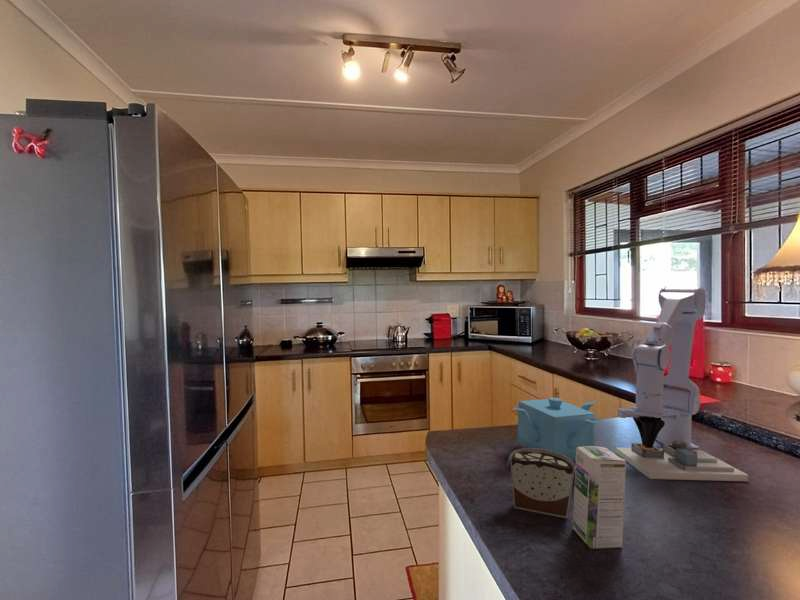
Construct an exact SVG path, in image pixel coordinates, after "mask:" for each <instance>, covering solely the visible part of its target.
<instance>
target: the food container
mask: <svg viewBox="0 0 800 600" xmlns="http://www.w3.org/2000/svg"><path fill="white" fill-rule="evenodd" d="M509 464H510V473H511V488H512V496H513V497H512V499H513V508H514V509H517V510H523V511H528V512H533V513H539V514H544V515H549V516H552V517H553V516H554V517H559V518H564V519H568V517H569V515H568V514H569V509H570V502H571V497H572V496H571V495H572V490H573V482H574V478H575V466H576V463H573V461H572V460H571V459H569V458H568V457H566V456H564V455H562V454H560V453H557V452H554V451H550V450H545V449H539V448H527V447H523V448H522V447H521V448H517V449H516V450H515V449H514V450H513V451H512V452H510V455H509V457H508V459H507V466H509Z"/></svg>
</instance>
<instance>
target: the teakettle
mask: <svg viewBox="0 0 800 600" xmlns="http://www.w3.org/2000/svg"><path fill="white" fill-rule="evenodd" d="M595 404H596V402H594V401H593V402H592V401H589V402H585V403H583V404H582V405H580V407H579V406H577V405H573V404H572V403H568V402H566V401H563V399H561V398H558V397H549V398H543V399H531V400H519V401H518V407H515V408H512V410H513V411H514V412H516V413H517V440H516V442H518V443H519V444H521V445H522V446H524V447H525V448H539V449H545V450H550V451H554V452H557V453H560V454H562V455H564V456H566V457H568V458H569V459H571V460H572V461H573V463H574V464H576V448H577V447H584V446H595V441H596V439H595V438H596V425H597V424H599V421H596V413H594V412H592V411H589V410H590V409H591V407H593V406H594V405H595Z"/></svg>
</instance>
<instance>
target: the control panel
mask: <svg viewBox="0 0 800 600" xmlns="http://www.w3.org/2000/svg"><path fill="white" fill-rule="evenodd" d="M641 444H642V442H641V443H637V442H635V443H632V442H631V447H615V453H614V454H616V455H617V456H619V457H620V458H621V459H624V460H626V463H627V464H630V465H631V466H632V467H633V468H635V469H636V470H637V471H639V472H640V473H642V475H644V476H645V477H647V478H648V479H650V480H676V481H677V480H679V481H680V480H681V481H683V480H684V481H686V480H687V481H712V482H713V481H719V482H720V481H721V482H723V481H724V482H748V481H749V474H747V473H746V472H743V471H742V470H740V469H738V468H736V467H734V466H732V465H730V464H729V463H727V462H725V461H722V460H721V459H719V458H716V456H713V455H712V454H709V453H707V452H705V451H704V450H701V449H692V448H688V447H687V450H689V451H691V452H693V453H695V454H696V455H697V466H683V465H682V464H680V463H678V462H677V461H675V457H676V450H675V449H673V448H672V444H662V448H659V447H658V446H656V445H653V446H654V447H655V450H644V449H642V448H641V447H640V445H641Z"/></svg>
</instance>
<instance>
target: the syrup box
mask: <svg viewBox="0 0 800 600" xmlns="http://www.w3.org/2000/svg"><path fill="white" fill-rule="evenodd" d="M626 466H627V461H626V460H624V459H623V458H621V457H620V456H619V455H617V454H616V453H614V452H613V451H611V450H609V448H607V447H603V446H596V445H594V446H584V447H577V448H576V463H575V473H574V486H573V487H574V488H573V490H574V491H573V512H572V513H573V514H572V529H573V531H575V533H576V534H577V535H578V536H579V537H580V539H582V541H583V542H584V544H586V545H587V547H589V549H595V550H596V549H614V548H615V549H616V548H623V540H624V539H623V538H624V537H623V536H624V535H623V534H624V519H625V516H624V515H625V497H626V495H625V494H626V493H625V492H626V475H627V474H626V473H627V472H626V471H627V469H626V468H627V467H626Z"/></svg>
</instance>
